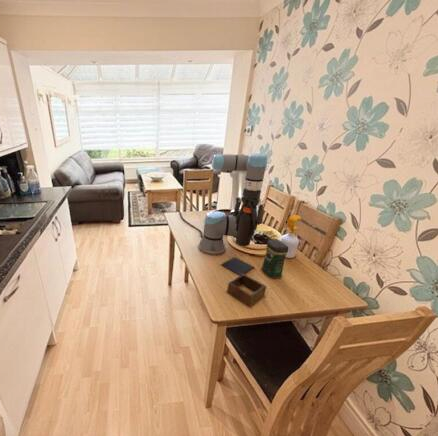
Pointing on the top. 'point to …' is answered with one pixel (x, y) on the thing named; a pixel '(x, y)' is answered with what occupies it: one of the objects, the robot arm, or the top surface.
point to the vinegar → (244, 227)
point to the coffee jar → (274, 258)
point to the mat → (237, 266)
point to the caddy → (249, 283)
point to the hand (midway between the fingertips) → (244, 232)
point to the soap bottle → (291, 237)
